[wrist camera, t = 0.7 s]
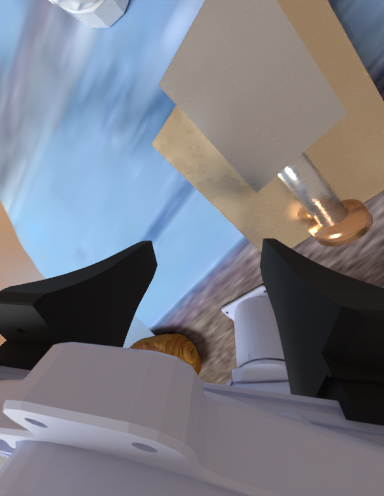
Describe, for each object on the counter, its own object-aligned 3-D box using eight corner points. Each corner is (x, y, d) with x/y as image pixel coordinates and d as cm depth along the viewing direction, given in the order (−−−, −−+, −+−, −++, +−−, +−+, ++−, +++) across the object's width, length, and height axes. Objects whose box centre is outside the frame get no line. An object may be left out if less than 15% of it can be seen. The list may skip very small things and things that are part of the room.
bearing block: (409, 165, 15) (505, 176, 10) (268, 256, 21) (282, 291, 16) (282, -54, 11) (337, -241, 5) (155, 144, 17) (126, 144, 12)
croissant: (127, 326, 38) (102, 364, 32) (184, 322, 31) (166, 371, 25) (161, 363, 44) (145, 402, 37) (217, 367, 36) (209, 417, 30)
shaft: (352, 205, 16) (387, 222, 12) (309, 233, 18) (330, 254, 14) (276, 102, 13) (295, 87, 10) (235, 148, 15) (239, 148, 12)
